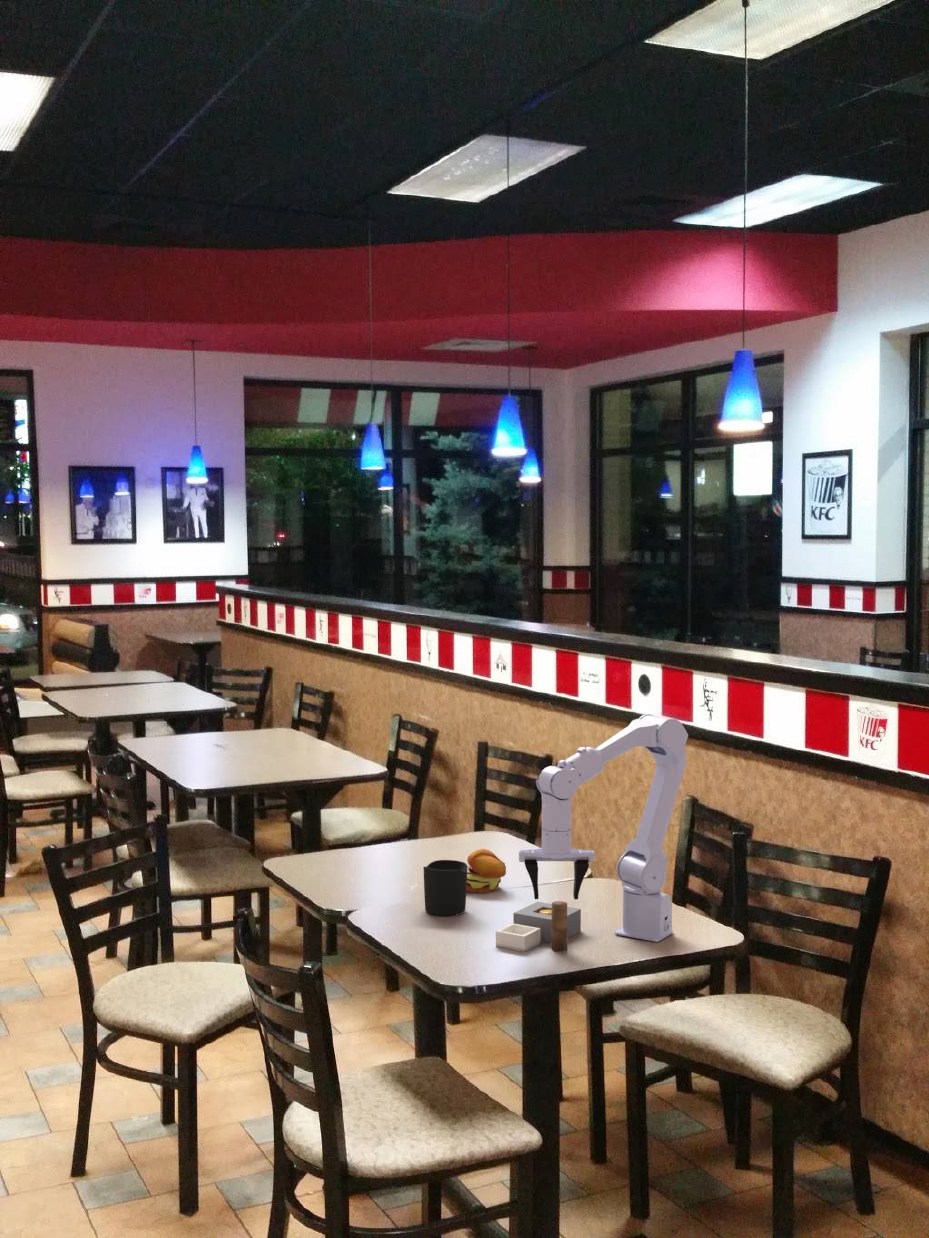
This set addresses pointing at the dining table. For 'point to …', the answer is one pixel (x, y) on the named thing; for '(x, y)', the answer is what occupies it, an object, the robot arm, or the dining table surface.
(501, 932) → the box
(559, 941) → the brown wooden cylinder
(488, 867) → the cheeseburger
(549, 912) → the button
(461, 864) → the pen holder
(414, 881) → the dining table surface
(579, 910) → the box
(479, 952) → the dining table surface
